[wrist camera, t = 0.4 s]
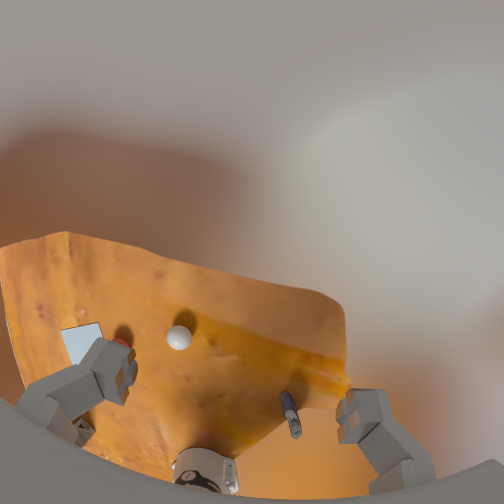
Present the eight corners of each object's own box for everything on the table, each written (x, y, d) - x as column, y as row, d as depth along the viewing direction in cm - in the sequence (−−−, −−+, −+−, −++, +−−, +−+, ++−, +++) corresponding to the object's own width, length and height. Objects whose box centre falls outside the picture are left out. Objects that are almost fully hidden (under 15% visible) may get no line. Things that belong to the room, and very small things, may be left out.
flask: (278, 392, 61) (283, 416, 50) (290, 389, 61) (297, 411, 50) (287, 420, 61) (294, 445, 50) (299, 417, 61) (306, 441, 50)
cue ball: (196, 342, 60) (192, 350, 55) (174, 347, 60) (168, 355, 55) (189, 320, 60) (184, 326, 55) (167, 325, 60) (160, 331, 55)
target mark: (117, 373, 60) (116, 374, 60) (78, 377, 60) (78, 378, 59) (98, 322, 60) (97, 322, 60) (60, 330, 60) (60, 330, 59)
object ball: (136, 354, 60) (127, 362, 55) (118, 357, 60) (108, 365, 54) (128, 333, 60) (119, 340, 55) (110, 337, 60) (100, 343, 54)
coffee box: (85, 441, 60) (62, 468, 43) (70, 427, 59) (45, 452, 43) (96, 431, 60) (73, 460, 44) (81, 416, 60) (54, 442, 43)
